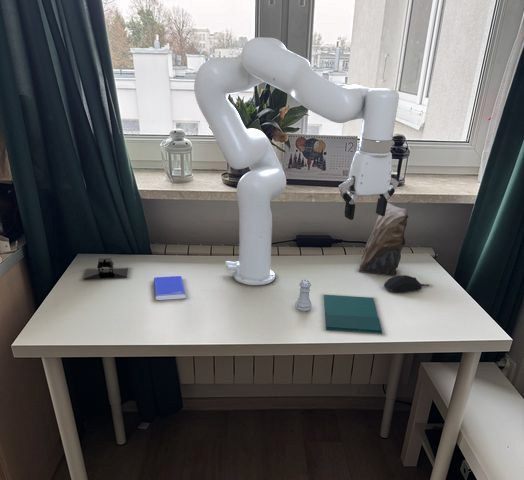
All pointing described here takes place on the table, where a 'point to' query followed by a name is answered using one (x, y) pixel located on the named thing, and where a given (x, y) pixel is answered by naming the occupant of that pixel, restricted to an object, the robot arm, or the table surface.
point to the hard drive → (169, 288)
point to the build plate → (106, 270)
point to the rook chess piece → (304, 296)
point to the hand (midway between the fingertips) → (364, 216)
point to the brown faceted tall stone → (385, 242)
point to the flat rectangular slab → (351, 314)
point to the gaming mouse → (403, 284)
